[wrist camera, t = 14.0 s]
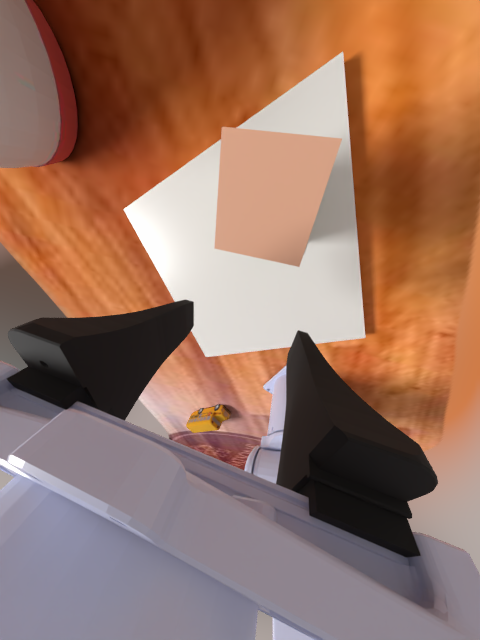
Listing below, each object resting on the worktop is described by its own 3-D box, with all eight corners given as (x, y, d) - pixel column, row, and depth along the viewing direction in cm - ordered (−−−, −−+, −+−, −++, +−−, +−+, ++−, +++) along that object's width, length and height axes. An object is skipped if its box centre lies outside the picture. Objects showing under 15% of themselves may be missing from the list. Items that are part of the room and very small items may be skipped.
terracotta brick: (324, 168, 10) (342, 138, 6) (298, 252, 13) (299, 267, 9) (247, 158, 11) (221, 126, 7) (236, 240, 13) (214, 248, 10)
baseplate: (362, 332, 20) (365, 338, 19) (208, 353, 29) (205, 357, 28) (339, 63, 11) (343, 49, 10) (130, 209, 20) (122, 209, 19)
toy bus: (232, 412, 36) (226, 430, 33) (201, 417, 41) (194, 434, 38) (223, 402, 35) (216, 420, 32) (193, 409, 40) (184, 425, 37)
